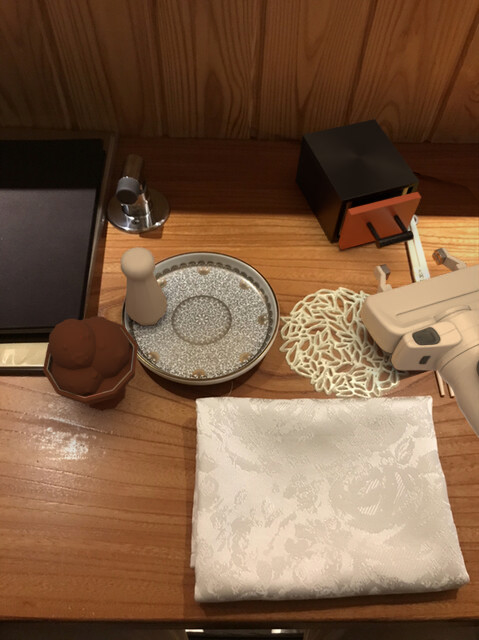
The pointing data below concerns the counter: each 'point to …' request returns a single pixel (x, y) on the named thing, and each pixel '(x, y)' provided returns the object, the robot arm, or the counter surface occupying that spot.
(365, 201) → the red drawer
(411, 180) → the black drawer cabinet
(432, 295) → the robot arm
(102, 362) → the ice cream bowl
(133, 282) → the salt shaker
